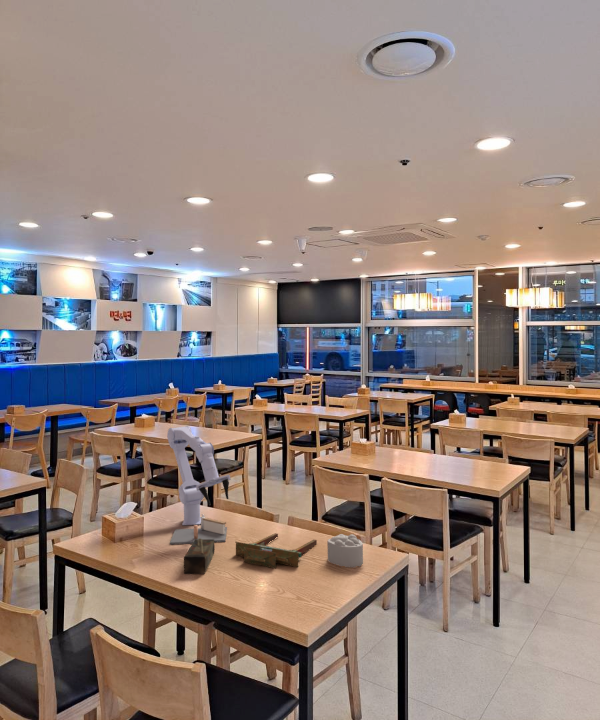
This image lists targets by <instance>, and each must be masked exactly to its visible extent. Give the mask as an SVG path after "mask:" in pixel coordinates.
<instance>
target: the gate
mask: <svg viewBox="0 0 600 720" xmlns="http://www.w3.org/2000/svg"><path fill="white" fill-rule="evenodd" d="M200 517H201V524H200V528H201V529H202V530H207V531H211V532H215V533H219V534H225V527H226V524H227V521H222V520H218V519H213V518H209V517H205V516H204V517H202V516H200Z"/></svg>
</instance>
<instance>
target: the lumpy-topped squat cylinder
mask: <svg viewBox="0 0 600 720" xmlns="http://www.w3.org/2000/svg"><path fill="white" fill-rule="evenodd" d="M363 545H364V543H363V541H361V539H359V538H357V536H356V535H355V534H349V535H345V534H343V533H340V534H337V535H336V536H332V537H330V538H329V539H327V562H329V563H331V564H333V565H335V564H336V566H338V565H339V567H342V566H345V567H344V568H357V567H356V566H359V567H361V565H362V564H364V546H363ZM362 566H363V565H362Z"/></svg>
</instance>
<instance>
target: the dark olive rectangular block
mask: <svg viewBox="0 0 600 720" xmlns="http://www.w3.org/2000/svg"><path fill="white" fill-rule="evenodd" d="M215 548H216V547H215V542H214V539H201V538H199V539H195V541H194V542H193V543H192V544H191V545H190V547H189V548H188V550H187V551H186V553H185V554H184V557H183V574H184V575H185V574H187V575H190V574H191V575H205V574H206V572H207V570H208V568H209V566H210V564H211V561H212V560H213V558H214V556H215V555H214V554H215Z"/></svg>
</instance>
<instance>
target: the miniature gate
mask: <svg viewBox="0 0 600 720" xmlns="http://www.w3.org/2000/svg"><path fill="white" fill-rule="evenodd" d="M276 537H279V533H277V532H276V533H273V534H271V535H268V536H266V537H264V538H262V539H260V540H258V541H255V542H253V543H251V542H250V543H245V542H239V541H235V556H240V557H243V558H244V559H243V563H247V564H253V565H258V566H263V567H268V568H273V569H277V568H276V566H277V565H276V564H279V565H280V564H281V565H285V566H290V567H295V568H299V558H301V557H302V555H303V554H305V553H306V552H308V551H310V550H311V549H312V548H314V547H315V546H317V543H318V542H317V541H318V540H317V539H312V540H310V541H309V542H306V543H305V544H303V545H301V546H299V547H297V548H295V549H285V548H280V547H274V546H267V545H268V543H269V542H270V541H272V540H274V539H275V538H276ZM275 540H276V539H275ZM275 540H274V541H275ZM272 542H273V541H272ZM270 543H271V542H270ZM270 543H269V544H270ZM266 544H267V545H266ZM313 546H314V547H313ZM309 549H310V550H309Z"/></svg>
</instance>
